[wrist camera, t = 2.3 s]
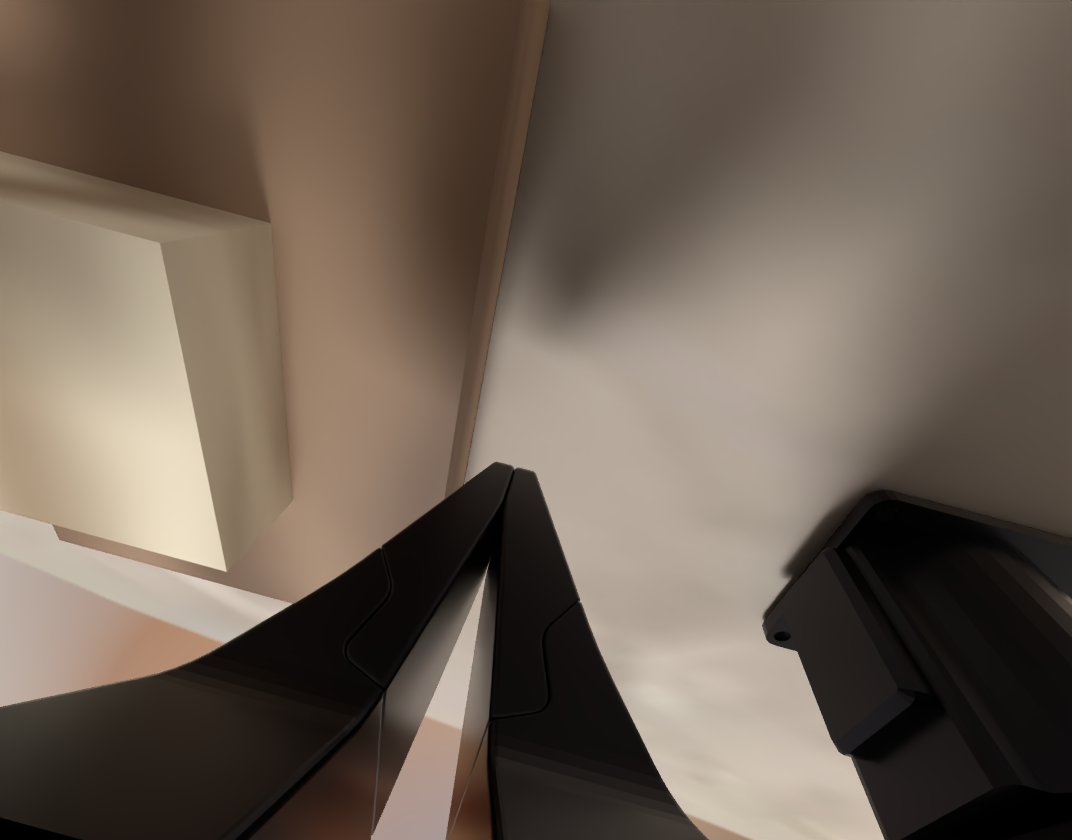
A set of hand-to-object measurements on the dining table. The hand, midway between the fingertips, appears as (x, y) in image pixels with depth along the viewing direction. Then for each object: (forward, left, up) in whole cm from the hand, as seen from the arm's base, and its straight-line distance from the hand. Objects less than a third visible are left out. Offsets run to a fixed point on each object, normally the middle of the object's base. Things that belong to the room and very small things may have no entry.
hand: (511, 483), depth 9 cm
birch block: (+9, 0, -1) cm, 9 cm away
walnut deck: (+8, 0, -4) cm, 8 cm away
